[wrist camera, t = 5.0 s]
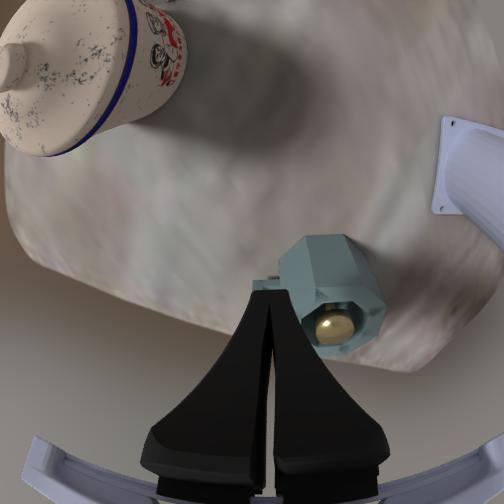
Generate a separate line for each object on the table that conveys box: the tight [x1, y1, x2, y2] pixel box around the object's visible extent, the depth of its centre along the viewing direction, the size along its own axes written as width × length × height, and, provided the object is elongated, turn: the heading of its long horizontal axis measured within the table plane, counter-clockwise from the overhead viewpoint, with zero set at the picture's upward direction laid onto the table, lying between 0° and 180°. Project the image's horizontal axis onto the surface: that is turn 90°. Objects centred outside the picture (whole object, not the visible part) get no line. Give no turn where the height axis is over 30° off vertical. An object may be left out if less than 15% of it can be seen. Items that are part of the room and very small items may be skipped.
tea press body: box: [252, 234, 387, 357], centre depth 20 cm, size 9×7×6 cm
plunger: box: [315, 302, 354, 345], centre depth 20 cm, size 4×4×5 cm
